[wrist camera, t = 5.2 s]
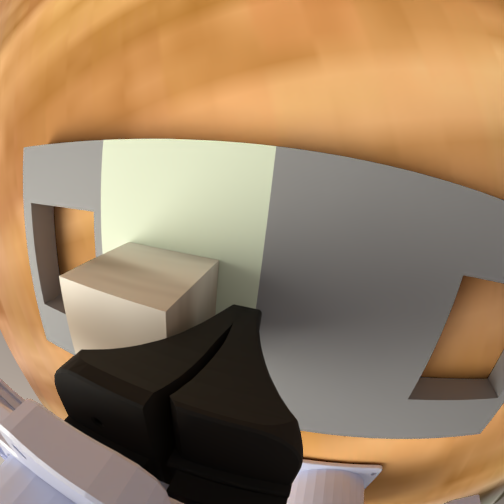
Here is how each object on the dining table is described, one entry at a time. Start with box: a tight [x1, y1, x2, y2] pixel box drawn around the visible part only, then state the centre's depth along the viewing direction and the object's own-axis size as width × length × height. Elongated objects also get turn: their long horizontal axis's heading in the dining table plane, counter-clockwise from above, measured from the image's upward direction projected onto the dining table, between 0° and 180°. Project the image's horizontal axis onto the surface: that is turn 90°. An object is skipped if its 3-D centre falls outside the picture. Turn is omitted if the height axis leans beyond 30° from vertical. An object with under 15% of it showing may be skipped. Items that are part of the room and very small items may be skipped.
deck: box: [23, 139, 504, 439], centre depth 13 cm, size 14×32×2 cm, turn 84°
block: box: [59, 242, 219, 354], centre depth 11 cm, size 4×4×4 cm
